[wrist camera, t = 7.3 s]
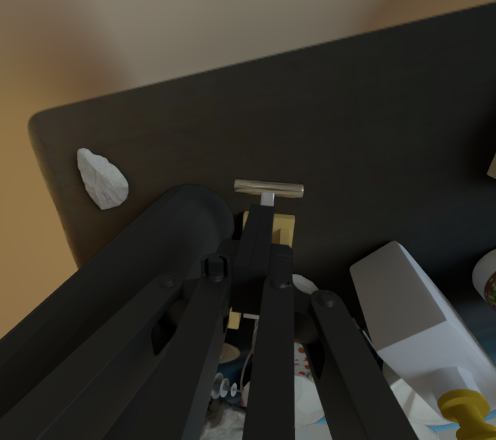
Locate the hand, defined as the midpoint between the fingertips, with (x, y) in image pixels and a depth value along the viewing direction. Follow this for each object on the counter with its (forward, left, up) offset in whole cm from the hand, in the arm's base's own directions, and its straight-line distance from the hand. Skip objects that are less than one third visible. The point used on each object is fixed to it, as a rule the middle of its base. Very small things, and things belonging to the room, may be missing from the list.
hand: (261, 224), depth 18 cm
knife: (+24, +17, -14) cm, 33 cm away
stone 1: (+3, -21, -15) cm, 25 cm away
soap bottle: (+14, +17, -14) cm, 26 cm away
